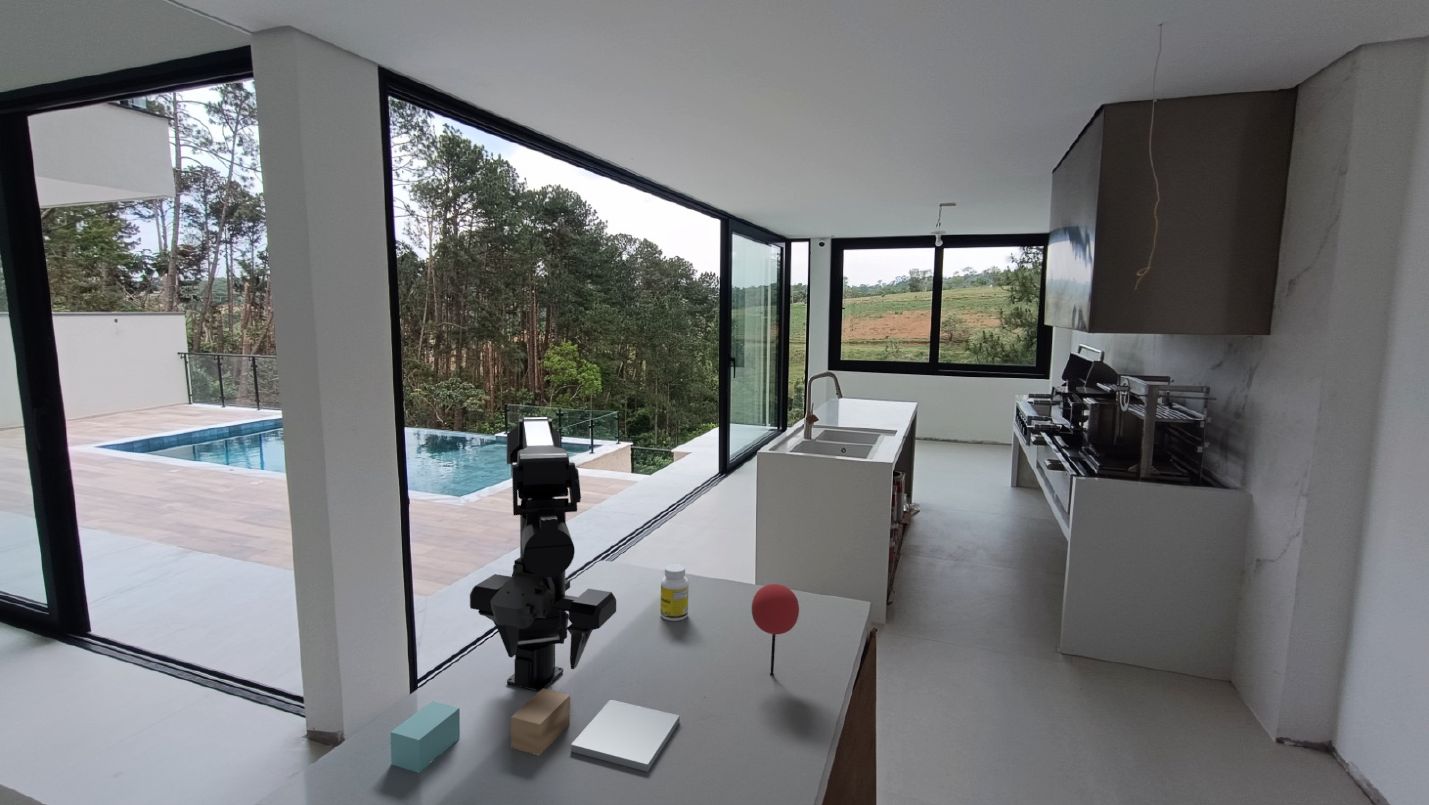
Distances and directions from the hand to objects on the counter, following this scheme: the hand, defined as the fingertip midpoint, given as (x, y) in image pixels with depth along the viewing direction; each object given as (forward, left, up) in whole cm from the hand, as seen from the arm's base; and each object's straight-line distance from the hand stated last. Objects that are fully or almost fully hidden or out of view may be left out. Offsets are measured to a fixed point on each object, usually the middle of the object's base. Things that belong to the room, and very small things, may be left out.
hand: (542, 661), depth 84 cm
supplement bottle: (-42, +2, -11) cm, 43 cm away
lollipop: (-28, +25, -11) cm, 39 cm away
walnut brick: (-1, -1, -11) cm, 11 cm away
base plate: (-5, +10, -11) cm, 16 cm away
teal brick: (+7, -13, -11) cm, 18 cm away
